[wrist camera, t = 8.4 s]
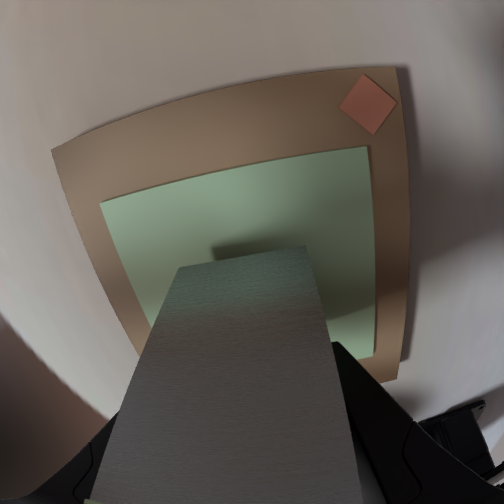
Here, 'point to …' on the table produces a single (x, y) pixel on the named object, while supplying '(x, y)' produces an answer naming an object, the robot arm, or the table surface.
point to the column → (234, 395)
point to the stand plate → (256, 198)
